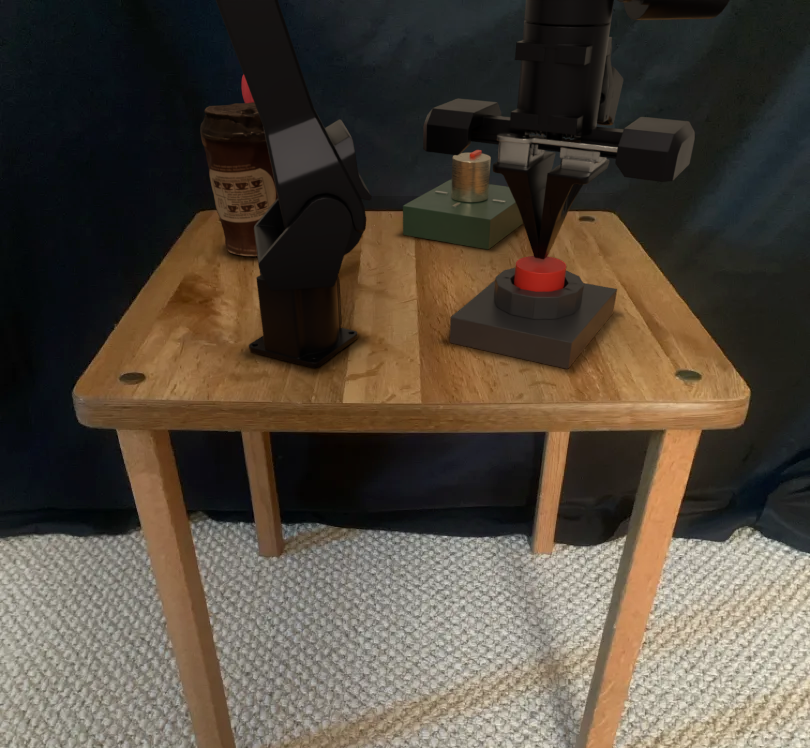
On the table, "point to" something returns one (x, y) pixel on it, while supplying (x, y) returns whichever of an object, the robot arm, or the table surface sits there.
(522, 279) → the light button
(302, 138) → the robot arm
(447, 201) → the dimmer panel
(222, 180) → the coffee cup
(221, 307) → the table surface
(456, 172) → the dimmer knob
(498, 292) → the lamp switch
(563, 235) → the table surface
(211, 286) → the table surface
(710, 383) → the table surface
